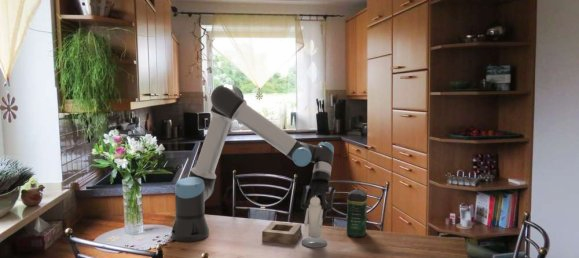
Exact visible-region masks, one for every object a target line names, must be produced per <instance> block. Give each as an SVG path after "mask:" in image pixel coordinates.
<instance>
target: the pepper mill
mask: <svg viewBox="0 0 579 258" xmlns="http://www.w3.org/2000/svg"><path fill="white" fill-rule="evenodd" d="M321 209H322V205H321V199H320V198H319V197H317V196H315V197H313V198H311V200H310V205H309V219H308V237H309V238H310V237H313V238H321V237H322V228H320V227H319V220H320V213H321Z"/></svg>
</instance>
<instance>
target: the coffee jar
mask: <svg viewBox="0 0 579 258" xmlns="http://www.w3.org/2000/svg"><path fill="white" fill-rule="evenodd" d="M367 205H368V193H367V192H366V191H365V190H364V189H356V188H355V189H353V190H351V191H350V192H348V194H347V211H346V212H347V213H346V215H347V217H346V234H347V235H348V236H351V237H355V238H356V237H357V238H358V237H363V236H365V234H366V233H367V209H368V207H367Z"/></svg>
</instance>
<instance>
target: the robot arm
mask: <svg viewBox="0 0 579 258" xmlns="http://www.w3.org/2000/svg"><path fill="white" fill-rule="evenodd" d="M210 95H211V96H210V102H211V108H210V113H211V114H212V116H211V119H210V123H209V125H208V128H207V132H206V135H205V138H204V140H203V144H202V146H201V149H200V153H199V155H198V158H197V161H196V164H195V166H194V167H191V169H190V171H189V174H188V177H186V176H185V177H184V178H180V179H178V180H177V181H176V182H175V184H174V185H175V187H174V198H175V199H174V201H175V202H174V205H175V219H174V222H173V225H172V228H171V232H170V233H171V239H173V240H174V241H177V242H181V243H182V242H183V243H190V242H197V241H202V240H204V239H206V238H208V237H209V236H210V228H209V226H208V222H207V220H206V216H205V202H206V201H207V200H208V199H209V198H211V196H212V194H213V193H214V190H215V182H216V180H217V179H216V178H217V175H216V168H217V167H218V166H217V165H218V163H219V159H220V157H221V154H222V151H223V148H224V146H225V142H226V140H227V137H228V133H229V130H230V128H231V124H232V122H234V121H237V122H238V123H240V124H242V125H243V126H244V127H246V128H247V129H248V130H250V131H251V132H253V133H254V134H255V135H256V136H258V137H259V138H261V139H263V140H264V141H265V142H266V143H268V144H270V145H271V146H272V147H274V148H275V149H276V150H278V151H279V152H280V153H282V154H284V156H286V157H287V158H289V159H290V160H292V162H293V163H294V164H295V165H296V166H297V167H305V166H307V165H309V164H310V163H313V169H312V175H311V180H310V183H309V185H305V184H304V185H302V188H303V190H302V194H301V200H300V205H299V206H300V208H301V210H303V218H304V223H303V224H304V226H305V227H308V226H309V205H310V200H311V198H313V197H317V196H321V201H322V208H321V213H320V220H319V227H320V228H321V229H322V227H323V223H324V222H323V221H324V220H326V218H327V213H328V212H332V210H333V203H334V196H335V193H336V187H334V186H332V187H331V186H330V181H331V175H332V174H331V173H332V168H333V162H334V156H335V154H334V153H335V147H334V145H333V144H332V143H331V142H328V141H325V142H324V141H321V142H319V143H318V144H317V145H316V144H315V145H314V144H311V143H307V142H302V141H300V140H296V139H295V138H294V137H293V136H291V135H290V134H288V132H285V131H284V130H283V129H282V128H280V127H279V126H277V125H276V124H274V123H273V122H272V121H270V120H269V119H267V118H266V117H265V116H263V115H262V114H261V113H259V112H258V111H256V110H255V109H253V108H252V107H251V106H250V105H248V103H247V100H246V99H244V98H245V97H244V93H243V91H242V90H241V89H240V88H239V87H238V86H236V85H234V84H221V85H218V86H216V87H215V88H214V89H213V91H212V92H211V94H210ZM309 189H310V195H309V196H308V192H309ZM328 192H329V197H328V202H326V194H327V193H328ZM307 196H308V198H307ZM327 203H328V205H327Z"/></svg>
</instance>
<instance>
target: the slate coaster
mask: <svg viewBox="0 0 579 258" xmlns="http://www.w3.org/2000/svg"><path fill="white" fill-rule="evenodd" d="M301 245H302V246H304V247H306V248H310V249H319V248H324V247H326V246H327V245H328V242H327V240H326V239H325V238H321V237H317V238H313V237H310V236H309V237H306V238H305V237H304V238H303V239H302V240H301Z"/></svg>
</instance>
